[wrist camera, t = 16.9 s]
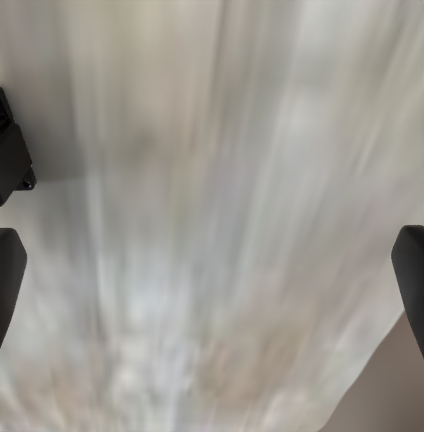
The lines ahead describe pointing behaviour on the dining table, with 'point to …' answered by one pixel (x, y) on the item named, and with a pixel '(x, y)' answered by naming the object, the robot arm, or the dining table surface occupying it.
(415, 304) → the robot arm
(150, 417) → the dining table surface
